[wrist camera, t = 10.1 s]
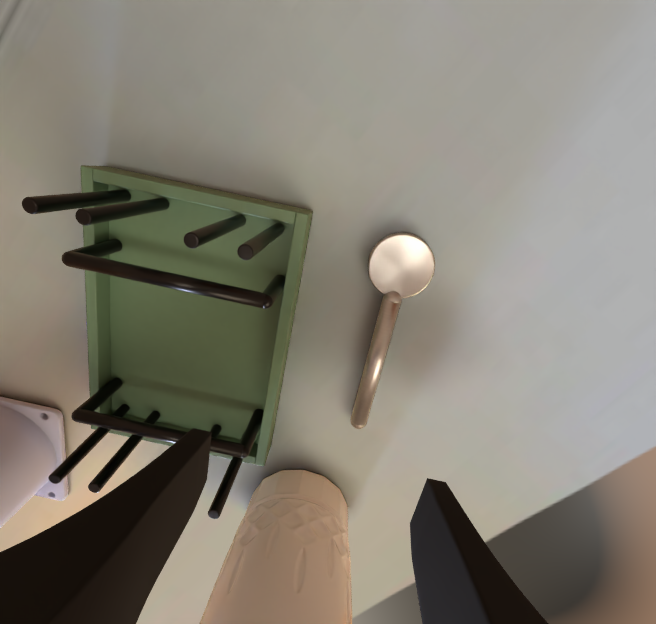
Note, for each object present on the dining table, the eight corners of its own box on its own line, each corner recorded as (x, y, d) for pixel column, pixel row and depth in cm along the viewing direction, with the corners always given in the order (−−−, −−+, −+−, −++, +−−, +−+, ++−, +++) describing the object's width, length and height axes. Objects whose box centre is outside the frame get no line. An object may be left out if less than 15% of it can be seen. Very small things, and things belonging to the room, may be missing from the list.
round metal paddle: (383, 427, 24) (384, 438, 23) (330, 416, 24) (329, 426, 23) (441, 239, 19) (445, 243, 18) (376, 226, 19) (377, 228, 18)
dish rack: (260, 440, 24) (230, 523, 18) (112, 408, 24) (37, 480, 18) (296, 226, 19) (268, 249, 13) (109, 185, 19) (5, 192, 13)
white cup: (315, 443, 24) (286, 611, 15) (377, 523, 26) (385, 714, 17) (222, 488, 26) (147, 660, 17) (286, 558, 28) (250, 747, 19)
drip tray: (270, 447, 25) (264, 467, 23) (108, 411, 25) (90, 428, 23) (313, 210, 19) (308, 214, 18) (104, 165, 19) (79, 165, 18)
